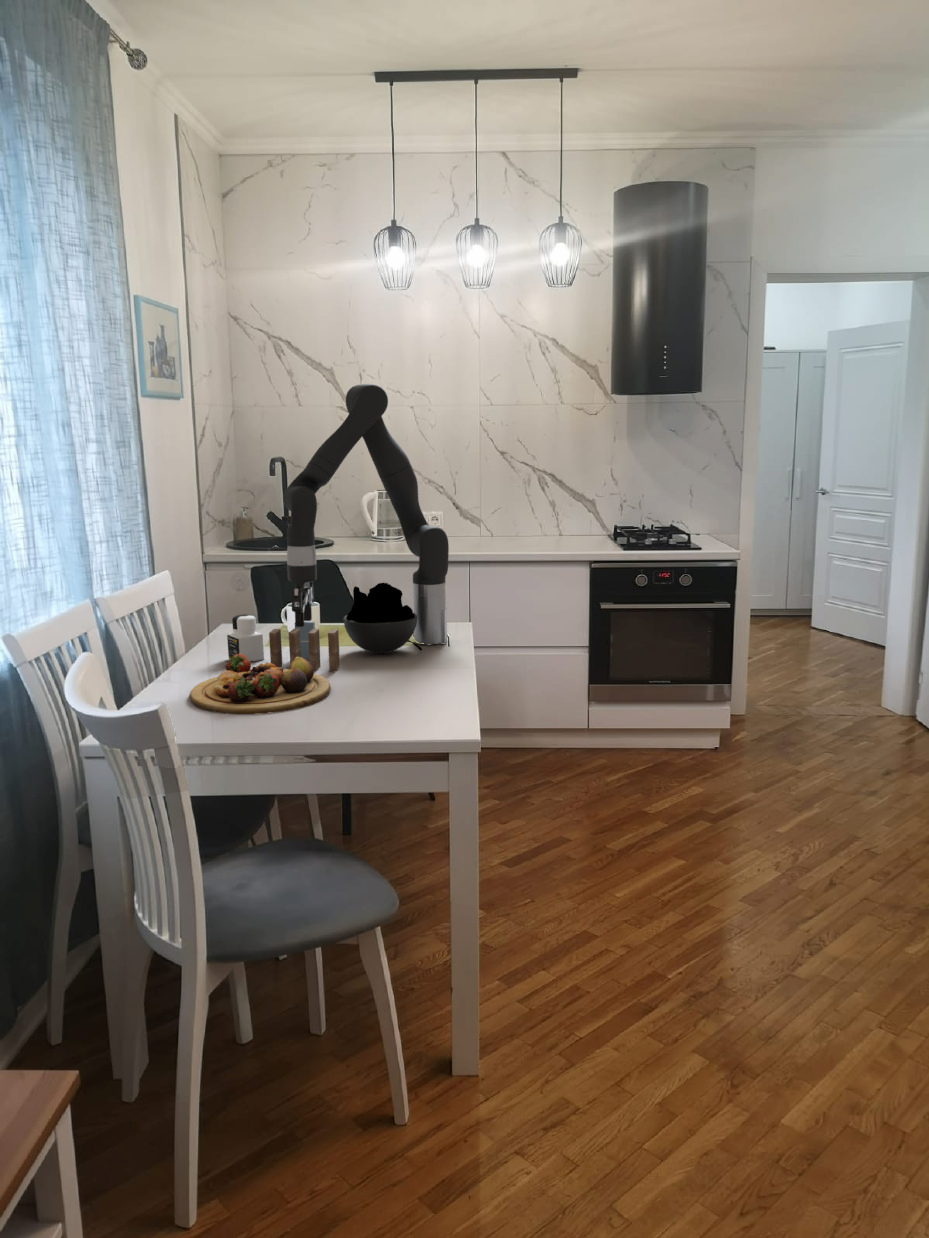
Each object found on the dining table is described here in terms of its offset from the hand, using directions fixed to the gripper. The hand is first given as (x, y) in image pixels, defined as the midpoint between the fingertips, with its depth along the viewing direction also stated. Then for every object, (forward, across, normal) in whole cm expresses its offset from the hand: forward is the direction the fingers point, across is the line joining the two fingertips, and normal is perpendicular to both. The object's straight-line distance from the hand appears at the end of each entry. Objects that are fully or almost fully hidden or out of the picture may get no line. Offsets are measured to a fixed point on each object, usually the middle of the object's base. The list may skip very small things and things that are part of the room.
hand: (303, 623), depth 255 cm
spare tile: (+10, 0, 0) cm, 10 cm away
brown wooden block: (+10, -11, +5) cm, 15 cm away
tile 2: (+10, -11, -10) cm, 18 cm away
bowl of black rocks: (+10, +8, -19) cm, 23 cm away
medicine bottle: (+10, -1, +16) cm, 19 cm away
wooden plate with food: (+11, -35, +2) cm, 36 cm away
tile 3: (+10, -11, -5) cm, 15 cm away
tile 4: (+10, -11, 0) cm, 15 cm away
